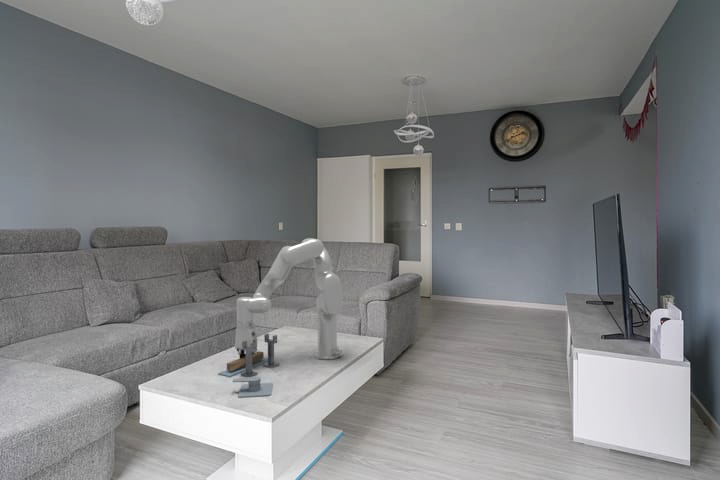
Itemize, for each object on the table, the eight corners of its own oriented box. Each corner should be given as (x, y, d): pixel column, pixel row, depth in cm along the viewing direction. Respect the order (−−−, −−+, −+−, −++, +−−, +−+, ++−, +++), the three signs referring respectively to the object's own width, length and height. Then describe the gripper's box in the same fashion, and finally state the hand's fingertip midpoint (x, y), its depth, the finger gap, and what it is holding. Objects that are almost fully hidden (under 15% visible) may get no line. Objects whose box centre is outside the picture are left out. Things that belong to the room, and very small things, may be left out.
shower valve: (235, 373, 169) (272, 371, 172) (235, 387, 169) (272, 384, 172) (230, 385, 157) (270, 382, 159) (230, 399, 157) (270, 397, 159)
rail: (263, 358, 200) (263, 352, 200) (231, 371, 183) (231, 364, 183) (259, 357, 201) (258, 351, 201) (226, 370, 184) (226, 363, 184)
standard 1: (258, 374, 182) (257, 341, 182) (250, 378, 178) (249, 344, 177) (248, 372, 185) (247, 340, 185) (239, 375, 181) (239, 342, 180)
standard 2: (279, 365, 194) (279, 334, 194) (272, 368, 190) (272, 337, 189) (269, 363, 197) (269, 332, 197) (262, 366, 193) (262, 335, 192)
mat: (271, 360, 202) (271, 359, 202) (229, 377, 179) (229, 376, 179) (260, 358, 205) (260, 356, 205) (218, 374, 183) (218, 373, 183)
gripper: (264, 324, 191) (265, 364, 191) (238, 320, 199) (239, 358, 199) (252, 328, 184) (253, 369, 185) (226, 324, 192) (227, 363, 193)
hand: (246, 363), depth 192 cm, fingers open, 3 cm apart
